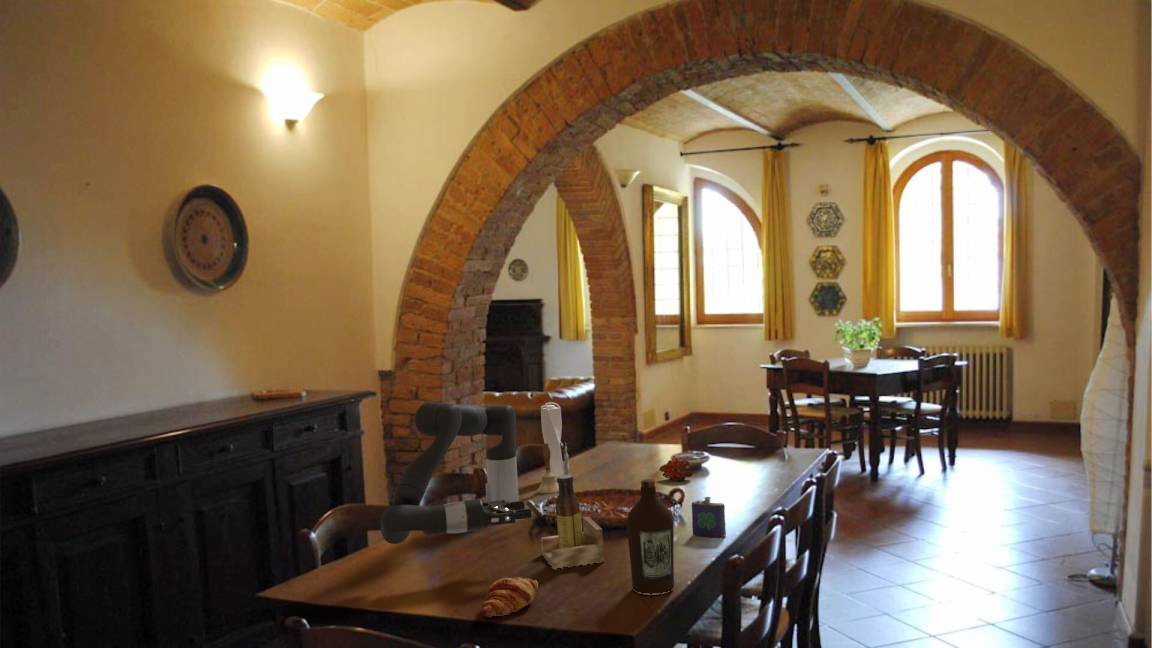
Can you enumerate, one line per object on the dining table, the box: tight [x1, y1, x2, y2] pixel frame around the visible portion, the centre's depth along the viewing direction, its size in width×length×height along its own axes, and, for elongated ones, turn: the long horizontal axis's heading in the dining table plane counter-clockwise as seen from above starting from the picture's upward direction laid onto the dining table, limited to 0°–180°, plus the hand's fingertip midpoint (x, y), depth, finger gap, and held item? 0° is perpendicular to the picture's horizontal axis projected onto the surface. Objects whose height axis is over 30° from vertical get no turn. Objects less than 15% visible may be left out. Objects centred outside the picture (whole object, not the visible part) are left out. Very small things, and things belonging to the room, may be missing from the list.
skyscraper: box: [540, 401, 571, 481], centre depth 325 cm, size 8×8×28 cm
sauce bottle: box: [555, 474, 583, 549], centre depth 235 cm, size 6×6×20 cm
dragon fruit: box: [658, 456, 694, 482], centre depth 315 cm, size 8×8×12 cm
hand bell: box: [536, 443, 559, 495], centre depth 310 cm, size 8×8×16 cm
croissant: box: [480, 576, 539, 618], centre depth 205 cm, size 21×10×8 cm, turn 152°
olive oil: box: [626, 478, 675, 594], centre depth 209 cm, size 11×11×25 cm
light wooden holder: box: [540, 516, 605, 570], centre depth 235 cm, size 13×13×8 cm
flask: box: [691, 496, 727, 539], centre depth 248 cm, size 9×3×11 cm, turn 63°
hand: (527, 508), depth 232 cm, fingers open, 8 cm apart
